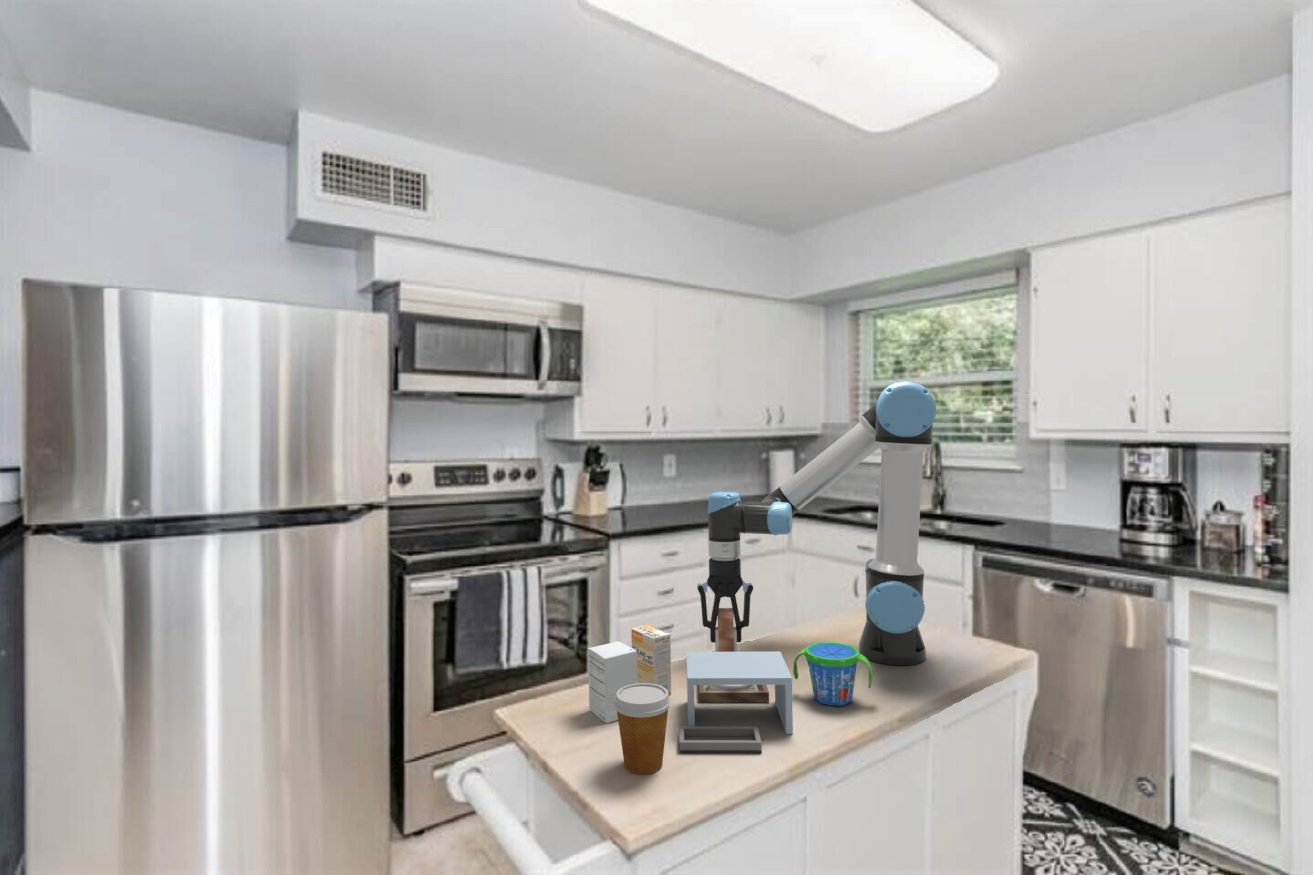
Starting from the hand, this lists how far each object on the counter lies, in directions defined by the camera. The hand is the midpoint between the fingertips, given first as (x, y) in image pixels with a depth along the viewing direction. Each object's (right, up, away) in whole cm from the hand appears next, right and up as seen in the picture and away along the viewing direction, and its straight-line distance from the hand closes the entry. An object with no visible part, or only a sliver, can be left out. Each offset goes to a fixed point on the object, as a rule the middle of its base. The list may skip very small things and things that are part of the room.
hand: (726, 655), depth 159 cm
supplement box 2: (-18, -2, -18) cm, 25 cm away
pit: (-5, -2, -42) cm, 42 cm away
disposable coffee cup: (-19, -3, -48) cm, 52 cm away
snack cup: (+19, -1, -24) cm, 30 cm away
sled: (0, -1, -11) cm, 11 cm away
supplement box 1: (-25, -2, -28) cm, 38 cm away
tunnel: (-1, -2, -31) cm, 31 cm away
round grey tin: (-1, -2, -18) cm, 18 cm away
